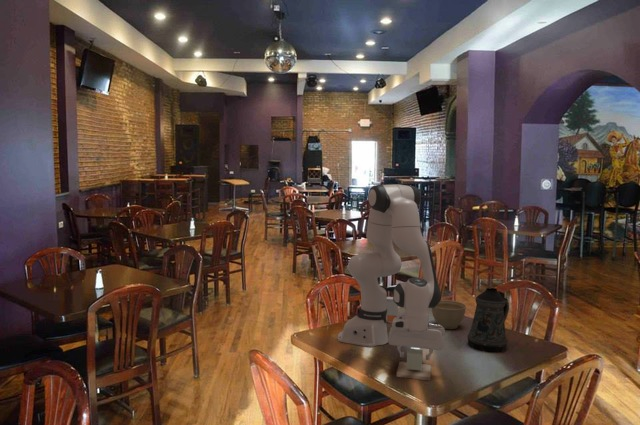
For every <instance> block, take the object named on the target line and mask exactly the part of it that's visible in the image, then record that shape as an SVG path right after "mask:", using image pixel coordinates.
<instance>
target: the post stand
mask: <svg viewBox="0 0 640 425" xmlns="http://www.w3.org/2000/svg"><path fill="white" fill-rule="evenodd" d="M431 371H432V365H431V364H426V363H425V364H424V363H422V370H421V371H420V370H410V369H407V361H406V362H405V361H399V363H398V365H397V370H396V377H398V378H406V379H414V380H424V381H431V373H432V372H431Z"/></svg>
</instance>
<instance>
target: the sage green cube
mask: <svg viewBox="0 0 640 425" xmlns="http://www.w3.org/2000/svg"><path fill="white" fill-rule="evenodd" d="M423 353H424V349H421V348H411V347H407V352H406V362H407V369H410V370H420V371H421V370H422V364H423V355H424V354H423Z"/></svg>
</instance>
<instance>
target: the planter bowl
mask: <svg viewBox="0 0 640 425" xmlns="http://www.w3.org/2000/svg"><path fill="white" fill-rule="evenodd" d="M466 308H467V305H466V304H465V303H463V302H460V301H457V300H448V299H441V300H440V302H439V303H438V305H437V306H435V307H434V308H431V312H432V316H433V319H434V320H435V322H436V325H437V324H439V325H441V326H443V327H444V329H445V330H455V329H457V328H458V327H459V325H460V324H461V322H462V321H463V319H464V317H465V313H466ZM441 328H442V327H441Z"/></svg>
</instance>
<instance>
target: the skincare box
mask: <svg viewBox="0 0 640 425" xmlns="http://www.w3.org/2000/svg"><path fill="white" fill-rule="evenodd" d="M398 307H399V306H398V305H397V304H396V303H395V302H394V301H393V296H387V304H386V309H387V322H386V323H391V324H392V321H393V319H394V318H395V317H398V313H399V312H398V311H399V308H398Z"/></svg>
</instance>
